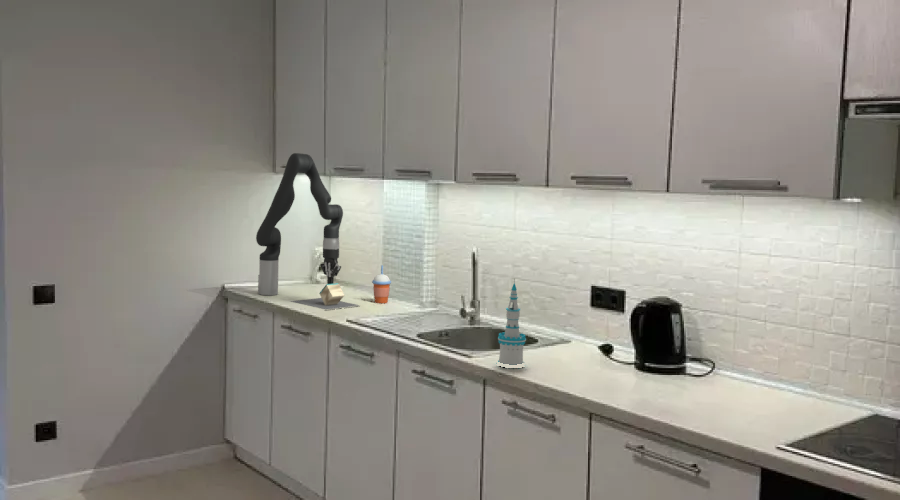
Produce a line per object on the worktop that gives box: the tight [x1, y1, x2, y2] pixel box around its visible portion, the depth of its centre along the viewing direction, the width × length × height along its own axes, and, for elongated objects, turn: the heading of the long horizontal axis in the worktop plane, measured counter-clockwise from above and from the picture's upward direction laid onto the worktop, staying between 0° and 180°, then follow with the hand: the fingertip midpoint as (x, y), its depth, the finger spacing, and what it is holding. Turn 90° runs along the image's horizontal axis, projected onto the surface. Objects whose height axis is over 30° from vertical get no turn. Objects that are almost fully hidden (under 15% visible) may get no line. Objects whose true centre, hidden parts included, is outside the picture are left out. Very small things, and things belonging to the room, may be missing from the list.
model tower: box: [497, 278, 527, 365], centre depth 292 cm, size 10×10×30 cm
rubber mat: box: [289, 297, 361, 312], centre depth 403 cm, size 27×20×1 cm
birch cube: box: [319, 282, 345, 305], centre depth 399 cm, size 7×7×7 cm
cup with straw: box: [371, 265, 392, 305], centre depth 414 cm, size 9×9×18 cm
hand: (330, 284), depth 400 cm, fingers closed
